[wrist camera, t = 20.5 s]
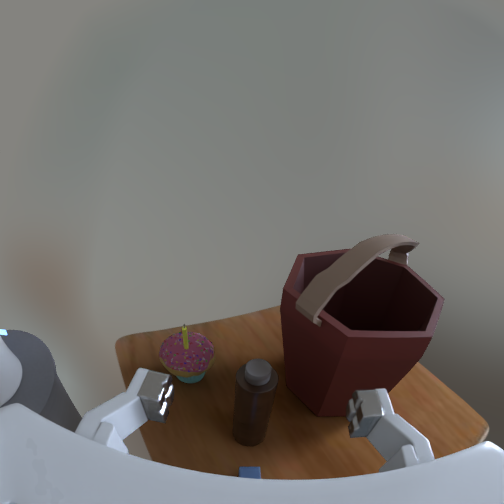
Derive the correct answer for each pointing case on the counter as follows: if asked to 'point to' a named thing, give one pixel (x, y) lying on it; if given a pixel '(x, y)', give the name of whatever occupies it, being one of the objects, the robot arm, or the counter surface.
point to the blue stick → (249, 472)
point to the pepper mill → (253, 401)
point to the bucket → (354, 321)
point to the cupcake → (187, 355)
